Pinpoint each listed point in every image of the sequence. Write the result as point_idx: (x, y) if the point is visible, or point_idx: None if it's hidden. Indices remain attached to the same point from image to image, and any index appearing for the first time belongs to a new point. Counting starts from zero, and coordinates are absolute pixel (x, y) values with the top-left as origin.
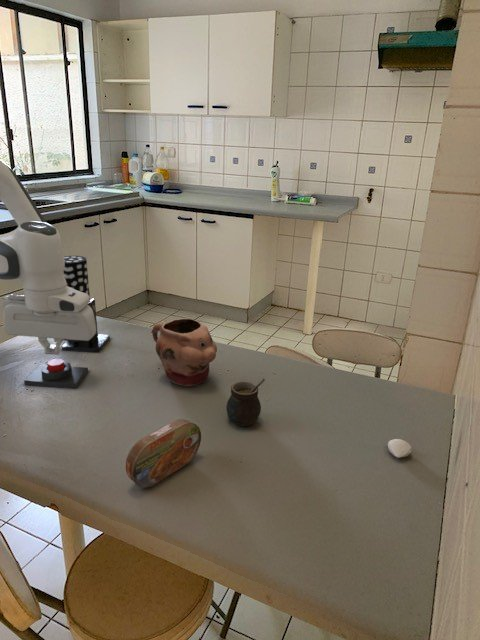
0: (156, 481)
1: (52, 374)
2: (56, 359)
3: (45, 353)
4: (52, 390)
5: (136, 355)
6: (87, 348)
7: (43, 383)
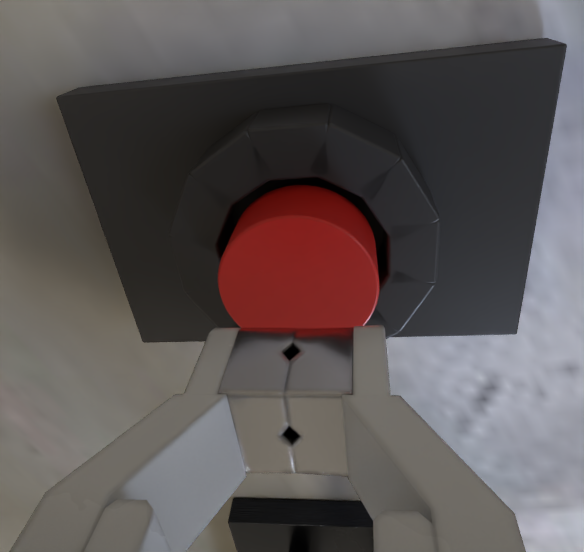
0: None
1: (262, 126)
2: None
3: (379, 328)
4: (242, 6)
5: (37, 489)
6: (294, 521)
7: (355, 64)
